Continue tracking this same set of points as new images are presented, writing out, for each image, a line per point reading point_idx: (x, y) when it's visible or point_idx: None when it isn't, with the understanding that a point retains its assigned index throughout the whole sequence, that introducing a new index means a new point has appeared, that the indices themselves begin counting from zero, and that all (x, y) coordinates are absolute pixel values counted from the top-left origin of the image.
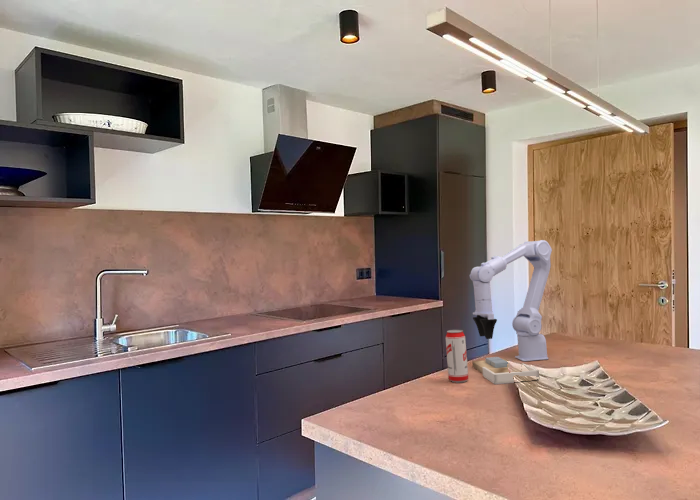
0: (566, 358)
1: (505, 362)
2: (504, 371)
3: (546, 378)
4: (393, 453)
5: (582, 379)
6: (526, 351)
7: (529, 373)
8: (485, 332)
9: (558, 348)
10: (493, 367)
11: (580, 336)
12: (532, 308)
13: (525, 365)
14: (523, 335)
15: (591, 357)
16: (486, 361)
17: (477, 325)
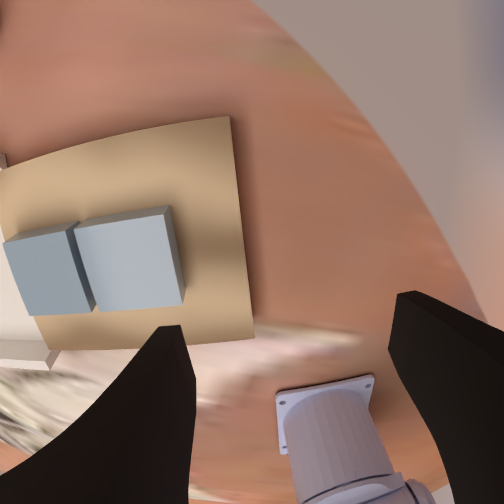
0: (277, 476)
1: (24, 301)
2: None
3: (3, 367)
4: None
5: (17, 423)
6: (295, 436)
7: None
8: (113, 383)
9: (410, 461)
10: (29, 226)
11: None
12: None
13: (15, 360)
14: (318, 498)
15: (266, 501)
16: (147, 210)
17: (501, 363)
